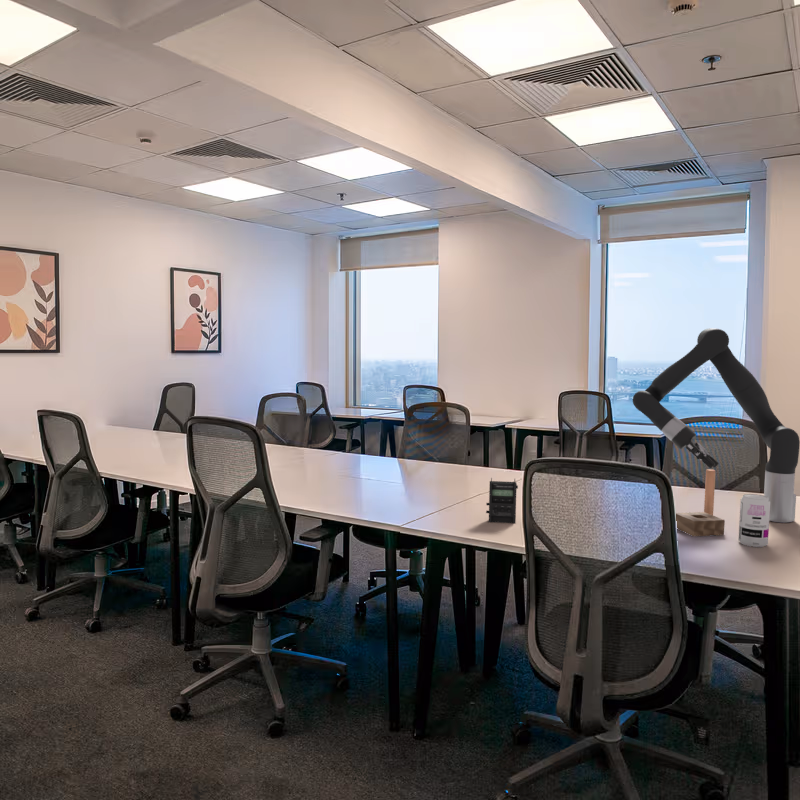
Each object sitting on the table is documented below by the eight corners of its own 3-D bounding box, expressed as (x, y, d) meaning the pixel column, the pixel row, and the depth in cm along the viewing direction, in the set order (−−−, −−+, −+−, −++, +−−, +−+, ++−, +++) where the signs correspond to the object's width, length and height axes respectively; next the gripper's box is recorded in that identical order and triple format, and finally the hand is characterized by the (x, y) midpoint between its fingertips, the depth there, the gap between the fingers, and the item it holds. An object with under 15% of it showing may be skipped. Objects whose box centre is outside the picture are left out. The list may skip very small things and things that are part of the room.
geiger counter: (485, 522, 238) (486, 479, 237) (486, 519, 243) (487, 476, 241) (516, 524, 237) (518, 480, 236) (516, 521, 241) (517, 478, 240)
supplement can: (755, 539, 222) (758, 493, 220) (773, 547, 214) (776, 499, 212) (732, 540, 220) (735, 493, 219) (750, 548, 212) (752, 499, 211)
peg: (709, 519, 247) (711, 469, 245) (714, 521, 244) (717, 470, 242) (701, 520, 246) (704, 469, 245) (707, 522, 243) (709, 471, 242)
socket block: (703, 526, 237) (703, 511, 237) (723, 535, 227) (724, 520, 226) (673, 527, 235) (674, 513, 235) (693, 536, 225) (694, 521, 224)
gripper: (682, 424, 239) (720, 458, 233) (689, 425, 252) (725, 458, 245) (666, 440, 242) (703, 474, 235) (674, 440, 254) (710, 473, 247)
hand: (714, 465), depth 240 cm, fingers open, 8 cm apart
